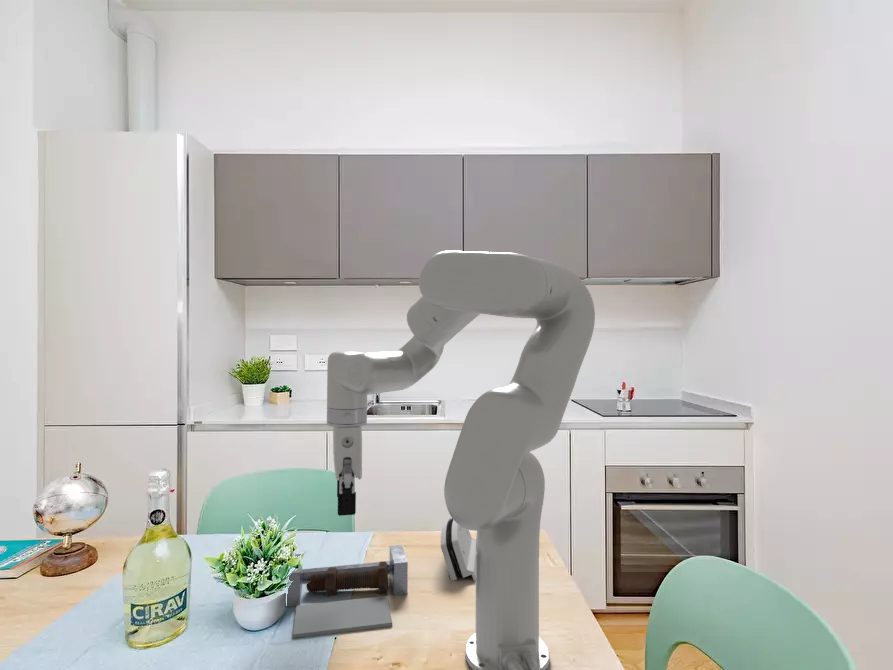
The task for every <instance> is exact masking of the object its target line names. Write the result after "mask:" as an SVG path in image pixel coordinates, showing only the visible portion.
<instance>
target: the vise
mask: <svg viewBox="0 0 893 670" xmlns="http://www.w3.org/2000/svg"><path fill="white" fill-rule="evenodd" d="M301 554H302V553H298V554H296V553H295V556H297V557H298V556H300V555H301ZM379 562H380V561H379ZM379 562H378V561H377V562H367V563H355V564H344V565H337V566H336V565H335V566H333V565H332V567H336V568H337V569H338V573H339V572H340V573H341V572H348V571H349V572H350V571H351V572H352V571H356V572H357V571H362V570H363V571H364V570H365V571H366V570H371V569H379ZM385 562H386V563H387V564H388V573H389V579H390V582H391V583H390V584H391V588H392V592H393V595H394V596H403V595H408V586H409V585H408V582H409V581H408V580H409V579H408V577H409V575H408V570H409V569H408V568H409V566H408V559H407V556H406V552H405V549H404V548H403V545H402V544H399V545H390V546H389V560H388V561H385ZM329 567H330V566H324V567H313V568H312V567H311V568H303V565H302V566H301V567H300V568H298V569H297V570H296V571H294V572H293V573H292V574H291V575H290V576H289V580H290V581H293V582H292V583H291V585H290V586H289V588H288V594H287V607H286V608H293V607H296V606H297V605H301V600H302V591H303V590H302V589H303V581H307V578H308V577H310V576H311V575H312V574H316V573H317V574H318V573H319V574H320V573H321V574H322V573H324V574H325V573H326V571H327V569H328V568H329Z"/></svg>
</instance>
